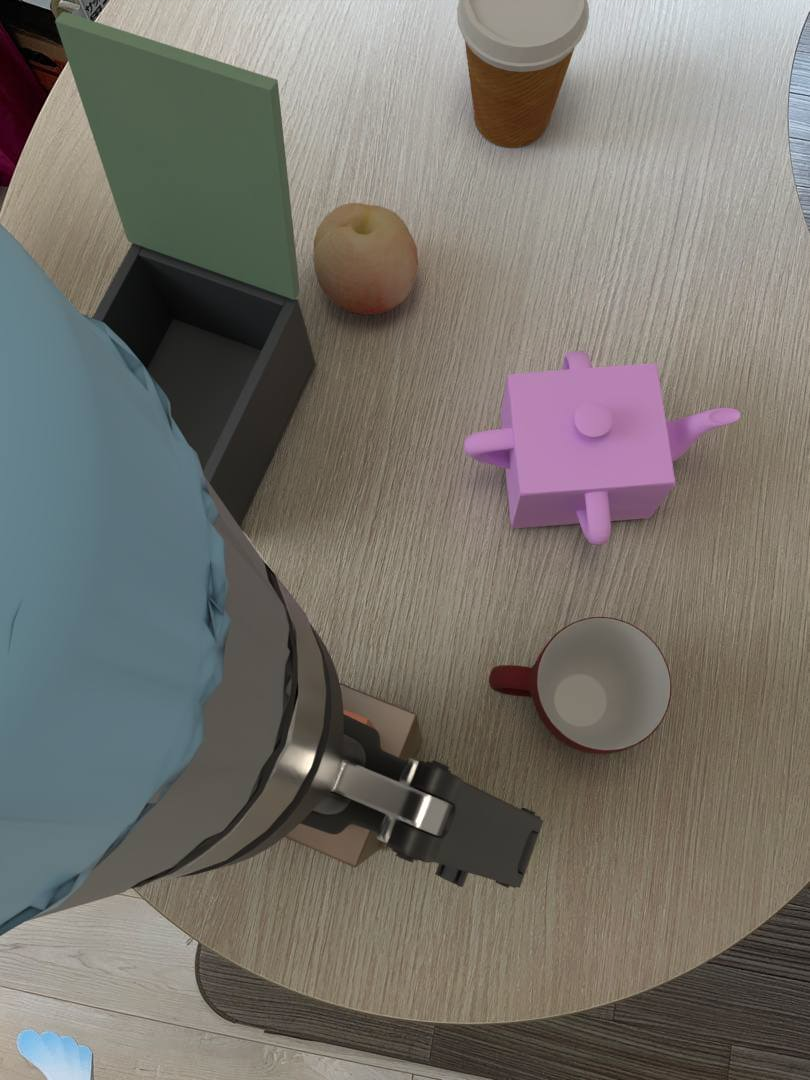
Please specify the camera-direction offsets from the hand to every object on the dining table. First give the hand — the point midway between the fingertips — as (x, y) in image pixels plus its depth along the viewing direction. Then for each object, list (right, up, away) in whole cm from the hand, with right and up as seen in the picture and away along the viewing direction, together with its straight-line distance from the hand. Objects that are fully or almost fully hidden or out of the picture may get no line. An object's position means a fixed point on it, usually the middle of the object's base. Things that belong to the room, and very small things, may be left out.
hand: (299, 755), depth 42 cm
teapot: (+18, +14, +28) cm, 36 cm away
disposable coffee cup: (+14, +45, +37) cm, 60 cm away
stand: (+1, -6, +23) cm, 24 cm away
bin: (-11, +18, +30) cm, 37 cm away
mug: (+16, -2, +24) cm, 29 cm away
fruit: (+2, +30, +33) cm, 45 cm away
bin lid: (-8, +31, +15) cm, 36 cm away
